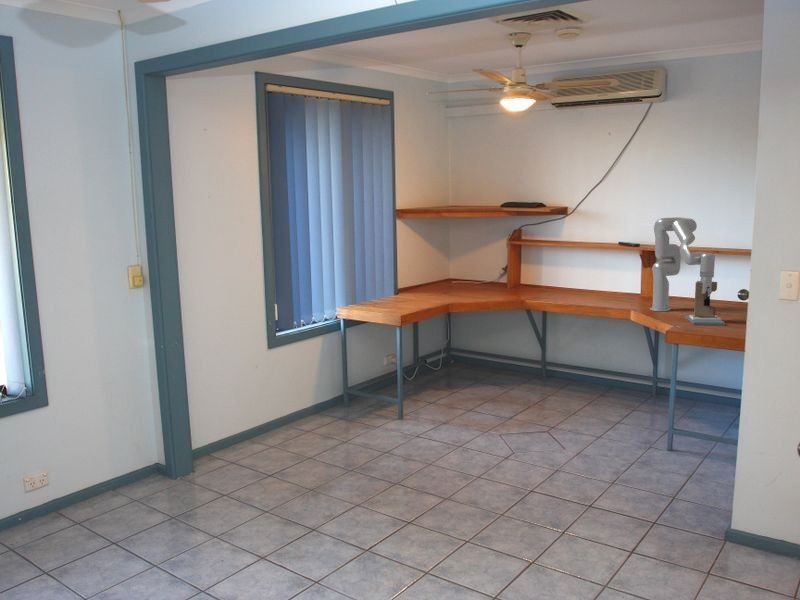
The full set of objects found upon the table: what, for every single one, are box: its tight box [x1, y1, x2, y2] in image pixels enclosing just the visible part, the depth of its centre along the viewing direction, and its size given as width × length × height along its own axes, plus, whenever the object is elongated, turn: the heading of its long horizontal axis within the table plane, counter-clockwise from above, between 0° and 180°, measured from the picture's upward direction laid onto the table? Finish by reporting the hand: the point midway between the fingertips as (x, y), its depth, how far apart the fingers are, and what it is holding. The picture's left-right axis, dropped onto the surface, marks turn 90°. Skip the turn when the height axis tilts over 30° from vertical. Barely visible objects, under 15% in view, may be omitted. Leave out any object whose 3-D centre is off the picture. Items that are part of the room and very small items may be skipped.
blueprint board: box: [684, 314, 726, 326], centre depth 401 cm, size 24×17×2 cm
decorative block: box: [693, 280, 718, 317], centre depth 400 cm, size 11×6×20 cm, turn 57°
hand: (705, 304), depth 401 cm, fingers closed on decorative block, 6 cm apart
